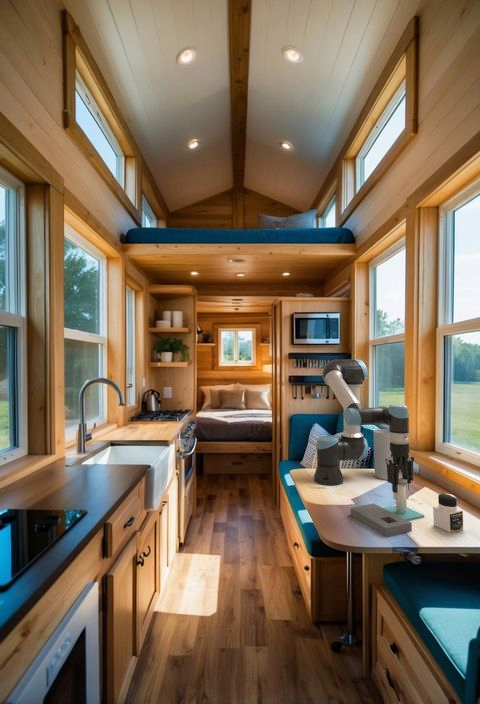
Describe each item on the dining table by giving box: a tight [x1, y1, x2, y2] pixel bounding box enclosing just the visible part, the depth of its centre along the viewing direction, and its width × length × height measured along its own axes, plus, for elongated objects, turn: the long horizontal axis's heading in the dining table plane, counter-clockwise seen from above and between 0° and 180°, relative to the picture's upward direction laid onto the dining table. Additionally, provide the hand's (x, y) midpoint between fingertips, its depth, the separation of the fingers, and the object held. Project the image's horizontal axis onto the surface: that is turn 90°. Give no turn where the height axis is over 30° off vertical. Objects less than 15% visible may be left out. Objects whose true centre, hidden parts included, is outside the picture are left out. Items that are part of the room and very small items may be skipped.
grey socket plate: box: [350, 503, 413, 538], centre depth 140 cm, size 20×12×3 cm, turn 21°
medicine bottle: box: [432, 493, 464, 534], centre depth 136 cm, size 7×7×12 cm
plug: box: [395, 476, 408, 514], centre depth 148 cm, size 5×5×14 cm
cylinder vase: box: [373, 428, 398, 481], centre depth 197 cm, size 12×12×25 cm
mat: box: [383, 505, 425, 522], centre depth 148 cm, size 12×12×1 cm
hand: (401, 499), depth 148 cm, fingers closed on plug, 4 cm apart
